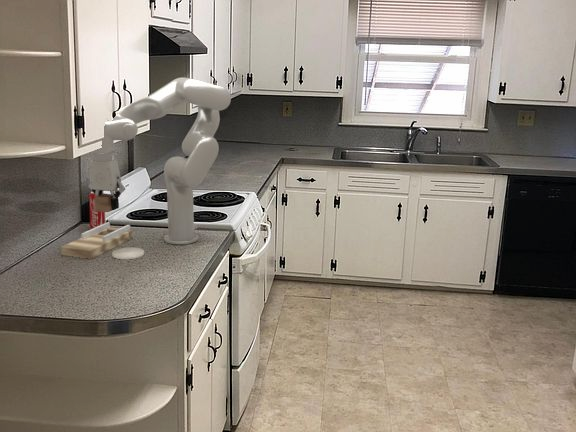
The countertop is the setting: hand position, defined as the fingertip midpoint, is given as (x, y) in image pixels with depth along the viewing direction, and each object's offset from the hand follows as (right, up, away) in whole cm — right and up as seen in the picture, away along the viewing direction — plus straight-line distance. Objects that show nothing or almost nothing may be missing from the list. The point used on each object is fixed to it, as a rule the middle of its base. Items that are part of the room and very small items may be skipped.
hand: (108, 207), depth 224 cm
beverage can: (-13, -8, +33) cm, 36 cm away
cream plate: (+6, -16, +4) cm, 18 cm away
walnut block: (-1, -1, -1) cm, 1 cm away
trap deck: (-7, -14, +12) cm, 19 cm away
